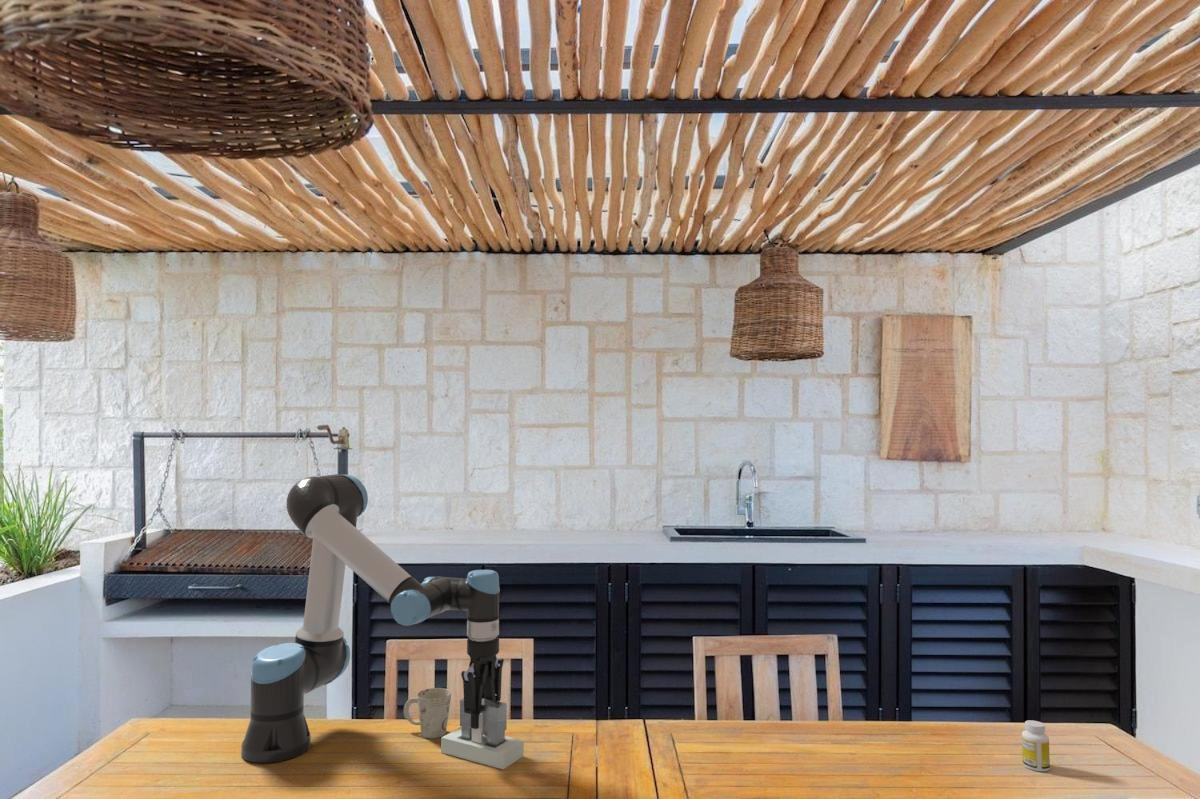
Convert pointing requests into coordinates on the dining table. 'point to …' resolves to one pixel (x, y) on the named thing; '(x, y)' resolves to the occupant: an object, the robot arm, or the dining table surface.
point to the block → (482, 750)
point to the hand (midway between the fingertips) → (482, 738)
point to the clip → (487, 722)
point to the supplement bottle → (1035, 746)
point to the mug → (431, 711)
